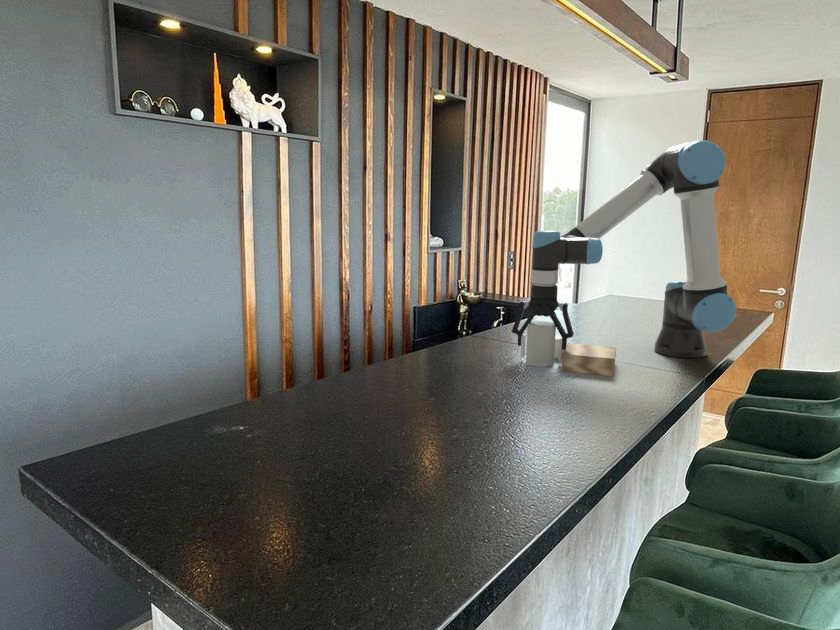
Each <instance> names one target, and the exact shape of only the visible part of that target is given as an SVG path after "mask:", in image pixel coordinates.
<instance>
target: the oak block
mask: <svg viewBox="0 0 840 630" xmlns="http://www.w3.org/2000/svg"><path fill="white" fill-rule="evenodd" d="M616 355H617V347H616V346H606V345H605V346H604V345H593V344H584V343H583V344H582V343H581V344H580V343H573V342H572V343H571V342H567V347H566V349H565V350H564V352H563V353H562V360H561V372H566V373H567V372H568V373H579V374H588V375H598V376H606V377H607V376H608V377H614V374H615V372H614V371H615V365H616Z"/></svg>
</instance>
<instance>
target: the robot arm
mask: <svg viewBox="0 0 840 630" xmlns="http://www.w3.org/2000/svg"><path fill="white" fill-rule="evenodd" d="M725 167H726V156H725V154H724V151H723V149H722V148H721V147H720V146H719V145H717V144H716V143H715V142H713V141H711V140H703V139H701V140H700V139H699V140H692V141H689V142H685V143H680V144H676V145H673V146H671V147H669V148H668V149H666V150H665V151H663V152H662V153H661V154H659V155H658V156H657V157H656V158H654V160H653V161H651V162H650V163H649V164H647V165H646V166H645V167H644V168H643V169H641V171H640V175H639V176H638V177H637V178H636V179H634V180H633V181H631V182H630V183H629V184H628V185H627V186H625V187H624V188H623V189H622V190H620V191H619V192H617V193H616V194H615V195H614V196H612V197H611V198H609V200H607V201H606V202H605V203H604V204H603V205H601V206H600V207H598V208H597V209H596V210H594V211H593V212H592V213H591V214H590V215H588V216H587V217H586V218H585V219H584V220H583V221H581V222H580V223H578V224H577V225H576V226H575V227H573V228H572V229H570V230H569V231H568V232H567V233H565V234H561V232H560V231H559V230H536V231H535V232H534V233H533V237H532V239H533V240H532V247H531V248H532V258H531V259H532V263H531V280H530V282H531V283H532V284H531V286H530V299H529V300H527V301H526V300H521V301H519V306H518V307H519V308H518V309H519V310H518V312H517V315H516V318H515V320H514V324H513V325H512V330H511V332H512V334H515V335H517V346H518V347H520V358H525V357H526V334H524V333H525V331H526V330H527V329H528V324H529V323H530V322H532V320H533V319H534V318H535V317H536V316H537V317H550V320H551V322H552V323H554V324H555V326H556V330H557V331H558V333H559V334H560V335H559V336H561V337H560V339H559V358H557V359H558V362H562V351H563V350H565V349H566V347H567V344H568V339H569V338H573V336H574V335H575V334H574V330H573V327H572V323H571V319H570V316H569V312H568V309H569V304H568V303H567V302H565V303H559V301H558V287H559V286H557V284H558V282H559V265H560V264H561V265H565V264H566V265H569V264H570V265H572V264H573V265H593V264H595V265H596V264H598V263H600V261H601V260H602V257H603V242H602V241H601V238H602V237H604V236H605V235H606V234H608V233H609V232H610V231H612V229H614V228H615V227H616V226H618V225H620V224H621V223H622V222H623V221H625V220H626V219H627V218H628V217H630V216H631V215H633V214H634V212H636V211H637V210H638V209H639V210H640V208H642V206H644V205H645V204H646V203H648V202H649V201H650V200H651V199H653V198H654V197H655V196H662V195H663V194H665V193H666V192H667V191H669V190H671V189H673V194H674V196H676V197H677V198H679V200H680V211H681V221H682V232H683V242H684V243H683V244H684V254H685V264H686V266H685V267H686V276H687V278H686V279H687V280H686V281H669V282H667V283H666V285H665V290H664V303H663V315H662V326H661V329H660V331H659V333H658V336H657V338H656V340H655V342H654V348H653V350H654V351H655V352H656V353H658V354H661V355H664V356H668V357H673V358H682V359H683V358H684V359H696V358H697V359H698V358H703V357H705V356H706V355H707V354H706V353H707V347H706V341H705V338H704V333H703V332H707V333H717V332H721V331H723V330H724V329H726V328H728V327H729V325H730V324H731V323H732V322H733V321H734V319H735V317H736V314H737V304H736V303H735V301H734V299H733V298H732V297H731V296H730V295H728V285H727V284H728V283H727V281H726V280H725V279H723V278H721V271H720V257H719V246H718V245H719V244H718V243H719V242H718V232H717V222H716V221H717V217H716V206H715V205H716V204H715V193H716V191H718V189H720V178H721V175H722V174H723V173H724V171H725ZM528 306H529V307H530V309H531V313H530V314H529V316H528V317H527V319H526V321H524V323H523V325H522V326H521V327H520V323H521V321H522V318H523V315H524V312H525V309H527V308H528ZM557 308H559V310H560V311H561V312H562V317H563V321H564V324H565V328H566V331H567V332H566V331H565V329H564V327H563V324H562V323H561V321H560V319H559V318H558V316H557V313H556V312H555V311H556V310H557ZM519 327H520V329H519Z"/></svg>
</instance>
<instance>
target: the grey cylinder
mask: <svg viewBox="0 0 840 630" xmlns="http://www.w3.org/2000/svg"><path fill="white" fill-rule="evenodd" d="M556 330H557V328H556V326H555V324H554V322H553V321H545V320H534V321H531V322H530V323H529V324H528V327H527V328H526V331H527V333H526V334H527V336H526V350H525V364H527V365H529V366H531V367H539V368H548V367H552V366H554V364H555V358H554V352H555V336H556V333H557V332H556Z"/></svg>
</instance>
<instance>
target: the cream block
mask: <svg viewBox="0 0 840 630" xmlns="http://www.w3.org/2000/svg"><path fill="white" fill-rule="evenodd" d="M560 337H561V335H555V352H554V359H558V358H559V339H560ZM563 352H564V350H563V351H562V353H563Z"/></svg>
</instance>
